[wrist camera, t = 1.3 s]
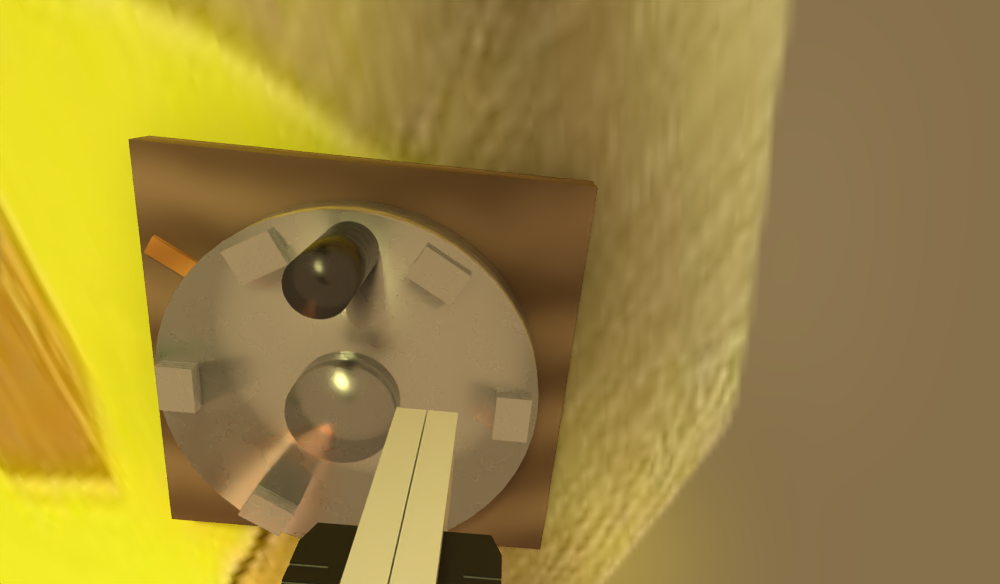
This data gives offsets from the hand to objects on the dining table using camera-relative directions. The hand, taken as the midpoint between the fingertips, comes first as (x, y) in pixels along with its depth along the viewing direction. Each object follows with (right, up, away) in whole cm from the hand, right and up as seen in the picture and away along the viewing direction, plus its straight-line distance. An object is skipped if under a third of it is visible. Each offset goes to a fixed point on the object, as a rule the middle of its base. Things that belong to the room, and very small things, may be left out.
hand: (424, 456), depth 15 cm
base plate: (-7, 0, +24) cm, 25 cm away
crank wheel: (-7, -1, +22) cm, 23 cm away
